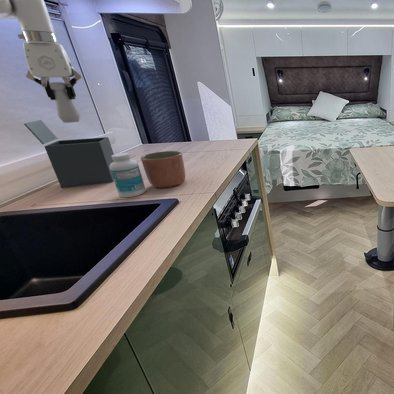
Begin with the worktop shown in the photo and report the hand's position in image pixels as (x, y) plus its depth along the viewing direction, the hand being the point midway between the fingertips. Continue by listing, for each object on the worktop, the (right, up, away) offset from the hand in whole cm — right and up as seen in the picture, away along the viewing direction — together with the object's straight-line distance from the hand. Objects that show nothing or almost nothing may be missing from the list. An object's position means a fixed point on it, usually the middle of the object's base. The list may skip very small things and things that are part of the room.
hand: (63, 98), depth 99 cm
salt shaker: (0, -7, +3) cm, 8 cm away
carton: (0, -27, +11) cm, 30 cm away
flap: (-8, -11, +1) cm, 14 cm away
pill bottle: (+26, -33, -2) cm, 42 cm away
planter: (+32, -29, +7) cm, 44 cm away
